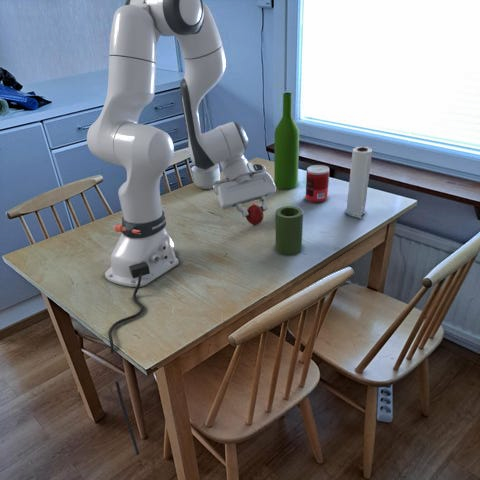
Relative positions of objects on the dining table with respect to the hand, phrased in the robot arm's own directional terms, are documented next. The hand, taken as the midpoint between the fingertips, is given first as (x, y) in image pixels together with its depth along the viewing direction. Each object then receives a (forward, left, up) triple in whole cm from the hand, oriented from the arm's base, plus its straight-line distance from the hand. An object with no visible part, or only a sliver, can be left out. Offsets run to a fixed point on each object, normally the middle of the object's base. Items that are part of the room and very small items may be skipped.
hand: (255, 213), depth 150 cm
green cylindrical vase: (-10, -15, -4) cm, 19 cm away
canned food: (+27, -11, -5) cm, 30 cm away
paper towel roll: (+20, -27, -5) cm, 34 cm away
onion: (0, +1, -5) cm, 5 cm away
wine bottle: (+35, +4, -5) cm, 36 cm away
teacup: (+25, +33, -5) cm, 41 cm away
